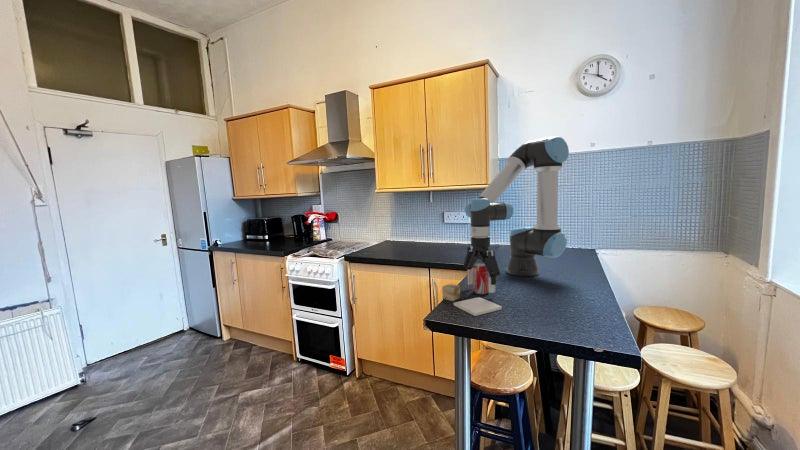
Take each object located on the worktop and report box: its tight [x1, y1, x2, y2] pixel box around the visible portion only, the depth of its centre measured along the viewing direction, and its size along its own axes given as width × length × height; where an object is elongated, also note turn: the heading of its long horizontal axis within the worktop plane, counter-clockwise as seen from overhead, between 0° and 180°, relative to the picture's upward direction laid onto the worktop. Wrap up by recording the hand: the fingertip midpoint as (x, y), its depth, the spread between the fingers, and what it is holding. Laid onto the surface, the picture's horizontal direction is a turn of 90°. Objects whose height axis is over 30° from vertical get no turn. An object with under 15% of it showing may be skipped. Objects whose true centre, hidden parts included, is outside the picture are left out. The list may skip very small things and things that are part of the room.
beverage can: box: [472, 262, 490, 295], centre depth 130 cm, size 6×6×12 cm
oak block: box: [441, 283, 461, 302], centre depth 125 cm, size 5×5×5 cm
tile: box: [453, 296, 503, 317], centre depth 114 cm, size 12×12×1 cm
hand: (480, 288), depth 130 cm, fingers open, 12 cm apart
